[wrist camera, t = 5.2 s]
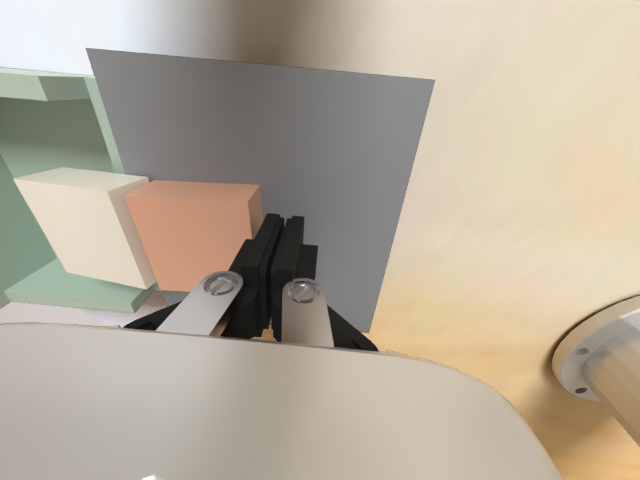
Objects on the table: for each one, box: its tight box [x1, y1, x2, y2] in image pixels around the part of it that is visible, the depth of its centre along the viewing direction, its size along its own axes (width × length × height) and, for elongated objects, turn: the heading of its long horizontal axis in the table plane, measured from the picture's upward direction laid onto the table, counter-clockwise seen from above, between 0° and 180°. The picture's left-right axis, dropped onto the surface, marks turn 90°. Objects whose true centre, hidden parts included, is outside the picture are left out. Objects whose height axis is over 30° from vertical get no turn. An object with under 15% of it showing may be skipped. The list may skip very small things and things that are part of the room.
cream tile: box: [13, 167, 157, 290], centre depth 13 cm, size 5×5×2 cm
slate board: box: [86, 48, 435, 333], centre depth 15 cm, size 13×14×3 cm
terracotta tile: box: [125, 180, 263, 292], centre depth 13 cm, size 5×5×2 cm
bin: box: [0, 67, 162, 313], centre depth 14 cm, size 9×12×5 cm
